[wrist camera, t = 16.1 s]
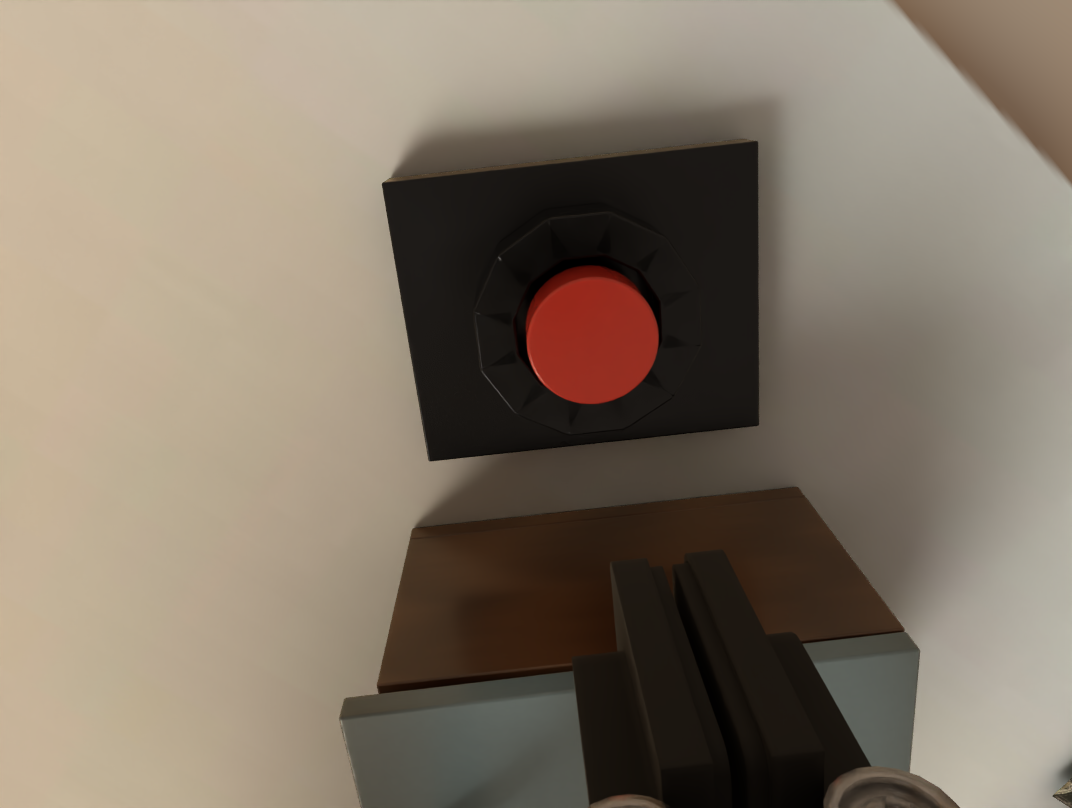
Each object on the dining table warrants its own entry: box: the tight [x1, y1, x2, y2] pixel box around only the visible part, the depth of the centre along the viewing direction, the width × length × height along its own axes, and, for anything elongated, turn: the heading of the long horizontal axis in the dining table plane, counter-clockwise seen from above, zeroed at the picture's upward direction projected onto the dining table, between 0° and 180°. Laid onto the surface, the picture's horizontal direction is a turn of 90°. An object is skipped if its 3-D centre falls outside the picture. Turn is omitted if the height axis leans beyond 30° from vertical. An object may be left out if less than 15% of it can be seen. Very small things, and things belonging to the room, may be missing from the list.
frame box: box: [377, 487, 904, 694], centre depth 27 cm, size 14×13×8 cm
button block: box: [382, 139, 759, 461], centre depth 24 cm, size 11×9×4 cm
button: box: [526, 265, 659, 404], centre depth 22 cm, size 4×4×2 cm
